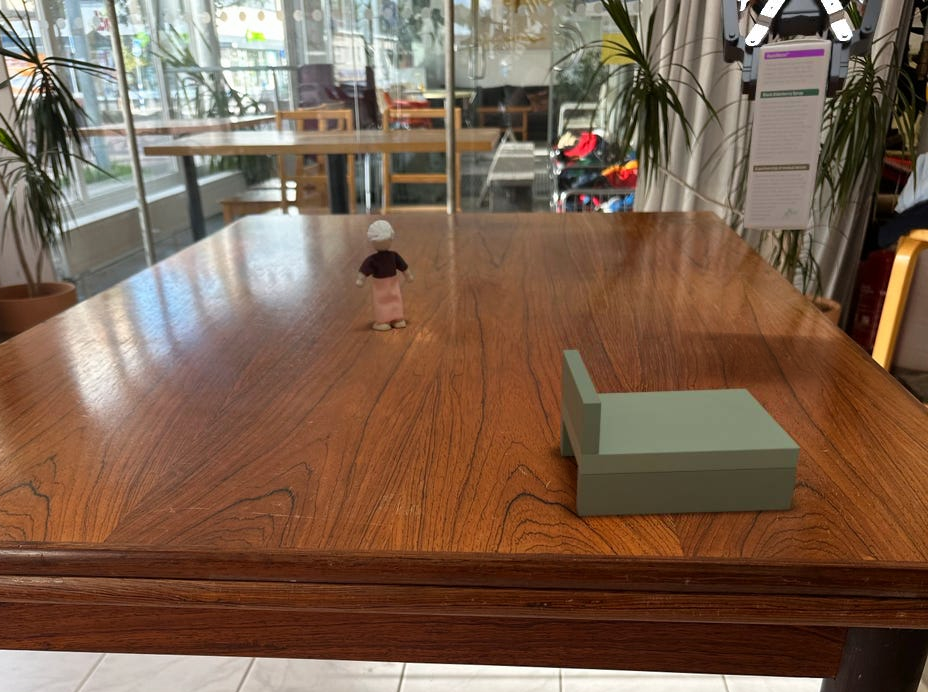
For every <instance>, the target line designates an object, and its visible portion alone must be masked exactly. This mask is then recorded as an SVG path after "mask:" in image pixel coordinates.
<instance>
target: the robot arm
mask: <svg viewBox="0 0 928 692" xmlns="http://www.w3.org/2000/svg"><path fill="white" fill-rule="evenodd" d="M851 2H853V3H855V5H856V10H857V11H858V12H859V16H860V17H862V19H861V23H860V28H857V29H853V30H852V29H851V27H850V25H849V24H848V22H847V20H846V18H845V9H846V7H848V6H849V4H851ZM883 4H884V0H720V15H719V16H720V17H719V18H720V31H721V45H722V57H723V61H724V63H726V64H734V63H735V62H739V63H740V64H741V65H742V72H741V81H740V92H741V95H747V102H755V96H756V87H757V77H758V67H759V56H760V47H762V46H763V45H766V44H771V43H776V42H777V40H778V38H779V39H784V38H791V37H795V36H802V37H803V36H804V37H816V39H820V40H830V41H831V42H832V48H831V57H830V65H829V74H828V83H827V93H826V99H835V98H836V97H837V96H836V95H837V92H842V91H843V90H844V88H845V87H846V83H847V79H848V75H849V74H848V73H849V65H850V59H851V57H854V56H857V57H859V58H864V57H867V56H869V54H870V53H871V49H872V46H873V41H874V38H875V34H876V30H877V27H878V24H879V19H880V16H881V12H882V8H883ZM749 9H751V10H752V11H753V12H754V14H755V15H756V16H757V20H756V23H755V25H754V26H753V27H752V29H751V31H750V32H749V34H748V35H747V36H744V35H740V23H741V20H742V19H744V17H745V15H746V12H747V10H749Z"/></svg>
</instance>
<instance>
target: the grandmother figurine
mask: <svg viewBox="0 0 928 692" xmlns="http://www.w3.org/2000/svg"><path fill="white" fill-rule="evenodd" d="M366 237H367V240H368V242H369V243H370V244H371V247H372V248H373V250H375V251H377V252H374V253H373V254H370V255H368V256H367V257H365V259H364V260H363V261H362V263H361V265H360V266H359V268H358V275H357V280H356V281H355V287H357V288H358V289H361V288H363V287H364V286H365V282H366V280H367V278H368V277H370V276H371V285H372V286H371V287H372V297H373V310H374V311H373V312H374V318H375V322H374V323H373V325H372V330H373V329H374V330H375V331H376V330H377V331H390V330H391V329H392V327H393V328H395V329H397V328H398V329H400V328H406V327H407V324H406V321H405V319H404V318H405V316H404V305H403V304H404V303H403V297H402V293H401V287H400V283H399V278H398V274H397V273H398V271H399V272H401V274H402V276H403V277H404V278H405V282H406V283H408V284H411V283H413V282H414V276H413V275H412V273H411V270H410V268H409V264H408V263H407V262H406V261H405V260H404V258H403V257H402V256H401V255H400V254H399V253H398V252H397V251H395V250H389V249H390V248H391V247H392V242H393V241H394V240H395V231H394V229H393V227H392V225H391V224H390V222H389V221H387V220H384V219H378V220H375V221H374V222H372V224H370V225H369V227H368V229H367V232H366Z"/></svg>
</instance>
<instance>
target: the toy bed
mask: <svg viewBox="0 0 928 692" xmlns="http://www.w3.org/2000/svg"><path fill="white" fill-rule="evenodd" d="M561 361H562V362H561V398H560V399H561V400H560V431H559V432H560V433H559V435H560V436H559V450H560V453H561V457H572V456H573V457H575V460H576V463H577V466H578V467H577V480H576V481H577V483H576V487H577V488H576V505H575V506H576V509H577V513H578V514H577V515H578V516H579V517H591V516H595V517H596V516H621V515H622V516H623V515H624V516H627V515H653V514H655V515H656V514H686V513H687V514H689V513H691V514H692V513H720V512H722V513H723V512H748V511H749V512H750V511H751V512H752V511H754V512H755V511H778V510H779V511H781V510H782V511H783V510H784V511H786V510H791V508H792V501H793V494H794V488H795V484H796V483H795V482H796V476H797V471H798V463H799V459H800V452H801V447H800V445H798V443H797V442H796V441H795V440H794V439H793V438H792V437H791V436H790V435H789V433H788V432H786V431H785V429H784V428H783V427H782V426H781V425H780V424H779V423H778V422H777V421H776V420H775V418H773V416H772V415H771V414H770V413H769V412H768V411H767V410H766V409H765V407H764V406H762V405H761V403H760V402H759V401H758V400H757V399H756V398H755V397H754V396H753V395H752V394H751V392H750V391H749V390H748V389H747V388H725V389H724V388H723V389H696V390H669V391H668V390H666V391H639V392H637V391H636V392H610V393H609V392H608V393H607V392H606V393H605V392H604V393H598V391H597V390H596V387H595V385H594V383H593V381H592V378H591V377H590V374H589V372H588V369H587V368H586V365H585V364H584V361H583V359H582V356H581V354H580V352H579V349H563V350H562V357H561Z"/></svg>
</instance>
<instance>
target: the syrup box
mask: <svg viewBox="0 0 928 692" xmlns="http://www.w3.org/2000/svg"><path fill="white" fill-rule="evenodd" d="M831 48H832V42H831V41H830V40H820V39H818V38H803V39H802V38H801V39H800V38H799V39H790V40H783V41H778V42H777V41H775V43H771V44H766V45H763V46H762V47H760V56H759V67H758V77H757V87H756V96H755V101H754V106H753V116H752V117H753V118H752V128H751V136H750V137H751V138H750V145H749V146H750V148H749V158H748V168H747V176H746V177H747V178H746V190H745V196H744V197H745V199H744V209H743V221H742V228H743V229H749V230H750V229H751V230H769V231H771V230H772V231H773V230H777V231H778V230H780V231H781V230H783V231H785V230H788V231H789V230H790V231H791V230H807V227H808V226H809V224H810V219H811V213H812V207H813V206H812V205H813V199H814V192H815V187H816V186H815V185H816V184H815V183H816V177H817V170H818V163H819V157H820V149H821V143H822V134H823V128H824V120H825V110H826V103H827V102H826V100H827V98H826V96H827V85H828V74H829V65H830V58H831Z"/></svg>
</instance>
